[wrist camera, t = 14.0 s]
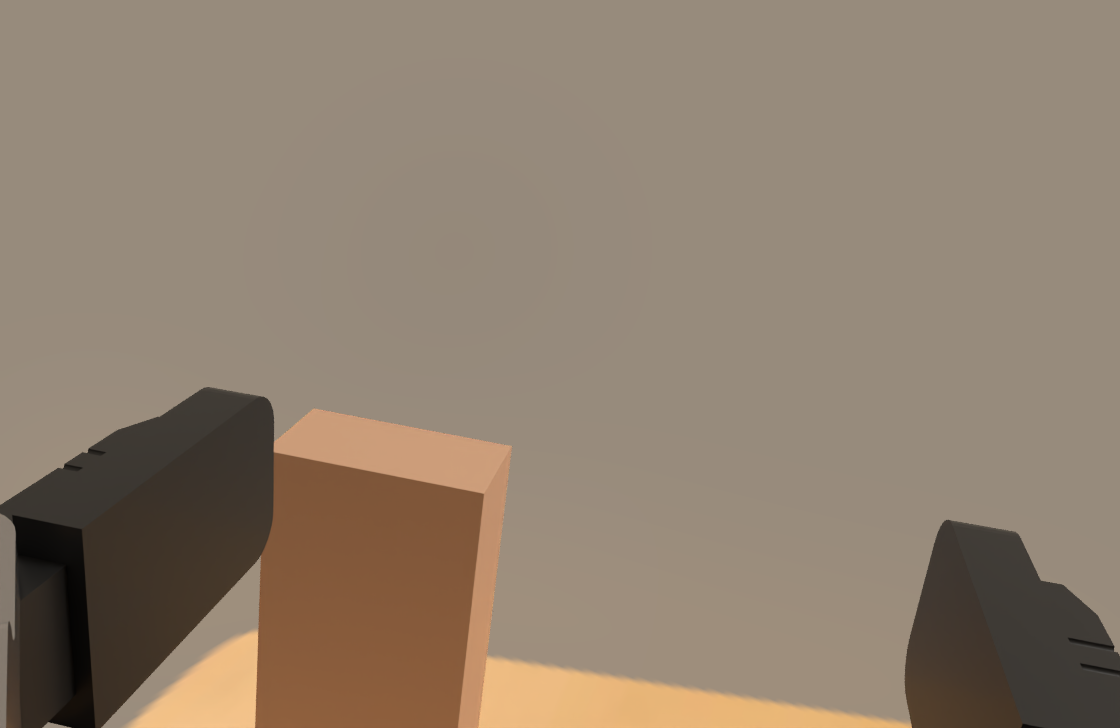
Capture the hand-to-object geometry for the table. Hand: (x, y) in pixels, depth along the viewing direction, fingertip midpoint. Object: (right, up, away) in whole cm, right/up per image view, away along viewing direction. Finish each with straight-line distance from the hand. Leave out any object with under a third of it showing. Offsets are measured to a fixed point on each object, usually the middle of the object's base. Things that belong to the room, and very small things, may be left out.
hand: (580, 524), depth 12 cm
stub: (-6, -14, +19) cm, 24 cm away
